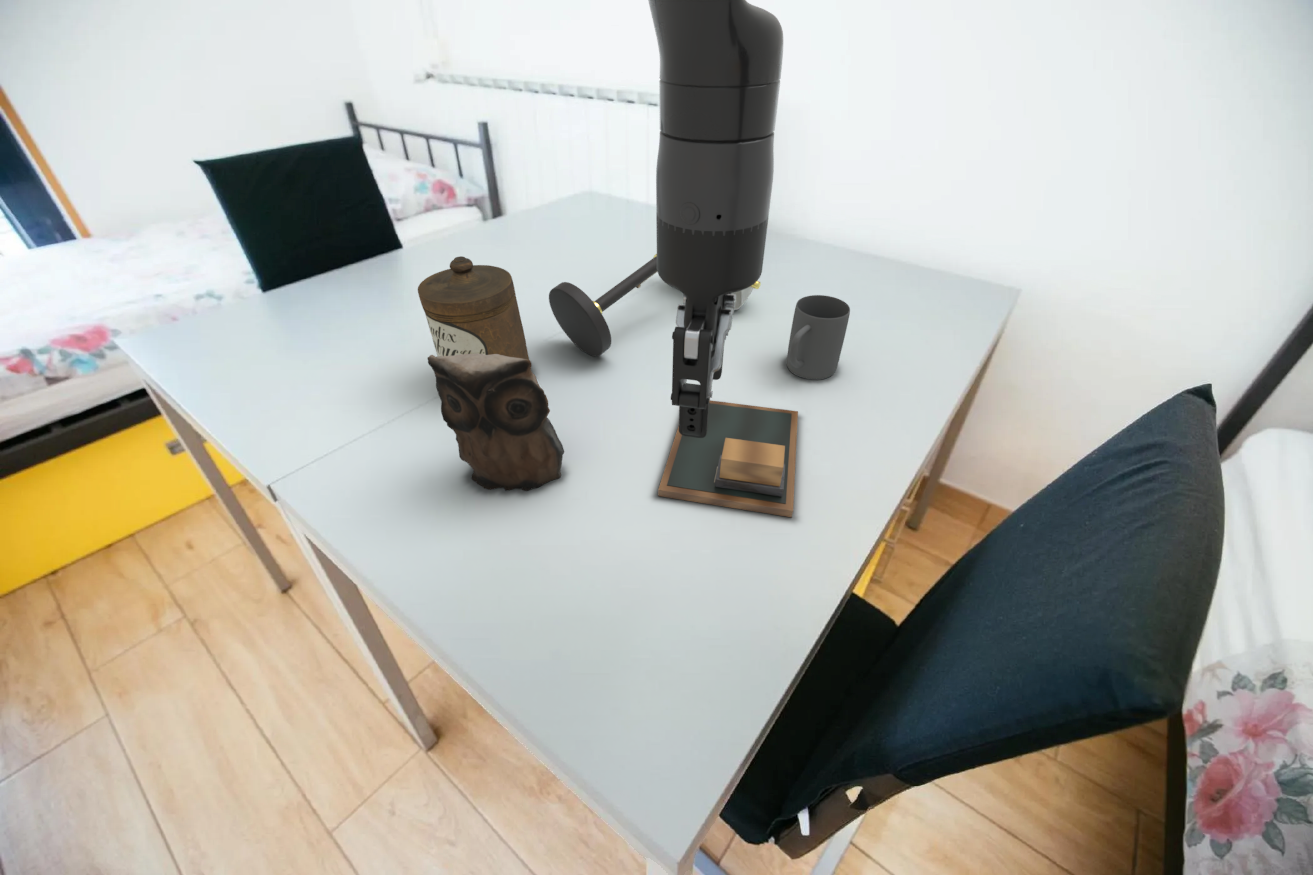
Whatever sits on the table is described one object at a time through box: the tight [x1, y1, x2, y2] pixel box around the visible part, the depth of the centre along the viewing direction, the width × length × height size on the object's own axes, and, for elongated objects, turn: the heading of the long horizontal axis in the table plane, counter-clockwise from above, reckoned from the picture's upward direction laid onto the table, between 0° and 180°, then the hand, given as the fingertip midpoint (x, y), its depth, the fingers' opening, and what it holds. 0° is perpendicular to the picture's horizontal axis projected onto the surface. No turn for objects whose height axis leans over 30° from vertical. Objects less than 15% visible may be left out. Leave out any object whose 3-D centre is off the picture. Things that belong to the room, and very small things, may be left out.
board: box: [657, 399, 799, 518], centre depth 80 cm, size 18×22×2 cm
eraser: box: [715, 438, 785, 497], centre depth 73 cm, size 9×5×5 cm, turn 77°
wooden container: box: [417, 256, 532, 371], centre depth 90 cm, size 15×15×22 cm
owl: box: [427, 353, 565, 492], centre depth 72 cm, size 13×13×20 cm
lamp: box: [548, 253, 762, 357], centre depth 108 cm, size 27×23×40 cm
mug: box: [786, 294, 851, 381], centre depth 94 cm, size 14×9×12 cm
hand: (701, 403), depth 46 cm, fingers open, 8 cm apart
